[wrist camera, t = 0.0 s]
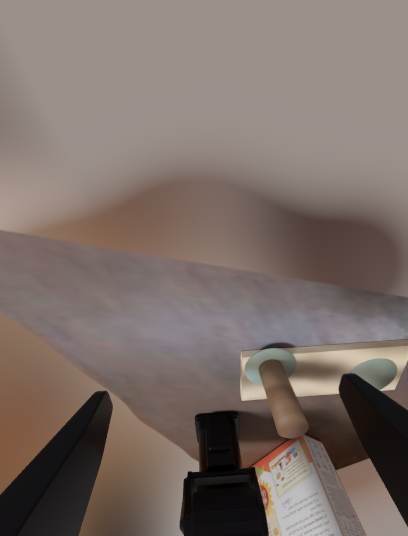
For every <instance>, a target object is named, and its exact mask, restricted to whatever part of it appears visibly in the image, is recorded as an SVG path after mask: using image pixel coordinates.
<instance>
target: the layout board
mask: <svg viewBox="0 0 408 536" xmlns="http://www.w3.org/2000/svg"><path fill="white" fill-rule="evenodd" d="M407 361H408V340H407V339H406V340H392V341H378V342H364V343H350V344H336V345H322V346H308V347H294V348H268V349H264V350H252V351H241V384H240V394H241V400H242V401H244V400H258V399H267V400H268V403H269V406H270V409H271V412H272V416H273V419H274V422H275V425H276V429H277V432H278V434H279V435H280V436H281V437H284V438H296V437H299V436H302V435H303V434H305V433H306V432H307V431H308V429H309V424H308V422H307V420H306V418H305V415H304V413H303V411H302V409H301V406H300V404H299V402H298V399H297V397H299V396H313V395H327V394H339V390H338V388H339V384H340V381H341V377H342V375H343V374H346V373H354V374H357V375H358V376H360V377H361V378H362V379H364V380H365V381H367V382H368V383H370V384H371V385H372V386H374V387H375V388H377V389H378V390H380V391H382V390H395V387H396V385H397V383H398V381H399V378H400V376H401V374H402V372H403V370H404V367H405V365H406V363H407Z"/></svg>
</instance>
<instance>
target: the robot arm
mask: <svg viewBox="0 0 408 536" xmlns="http://www.w3.org/2000/svg"><path fill="white" fill-rule="evenodd" d="M338 390H339V394H340V397H341V399H342V401H343V403H344V406H345V408H346V410H347V412H348V415H349V417H350V419H351V421H352V424H353V426H354V428H355V430H356V432H357V435H358V437H359V439H360V441H361V443H362V445H363V446H364V448H365V450H366V452H367V454H368V456H369V457H370V459H371V461H372V463H373V465H374V467H375V468H376V470H377V472H378V474H379V476H380V477H381V479H382V481H383V483H384V484H385V487H386V488H387V490H388V492H389V494H390V496H391V497H392V499H393V501H394V503H395V504H396V506H397V508H398V510H399V512H400V514H401V516H402V517H403V519H404V521H405V523H406V524H407V526H408V410H407V409H405V408H404V407H402V406H401V405H399V404H398V403H397V402H395V401H394V400H392V399H391V398H390V397H388V396H387V395H385V394H384V393H382V392H381V391H380V390H378V389H377V388H375V387H374V386H372V385H371V384H370V383H368V382H367V381H365V380H364V379H362V378H361V377H360V376H358V375H357V374H354V373H346V374H343V375H342V377H341V381H340V384H339V388H338ZM112 406H113V405H112V402H111V399H110V396H109V394H108V392H107V391H98V392H95V393H94V394H93V395H92V396H91V397H90V398H89V399H88V400H87V401H86V402H85V404H84V405H83V406H82V407H81V408H80V409H79V410H78V411H77V412H76V413H75V414H74V416H73V417H72V418H71V419H70V420H69V421H68V422H67V423H66V424H65V425H64V426H63V427H62V428H61V430H60V431H59V432H58V433H57V434H56V435H55V436H54V437H53V438H52V439H51V440H50V442H49V443H48V444H47V445H46V446H45V447H44V448H43V449H42V450H41V451H40V452H39V453H38V455H37V456H36V457H35V458H34V459H33V460H32V461H31V462H30V463H29V464H28V465H27V466H26V467H25V469H24V470H23V471H22V472H21V473H20V474H19V475H18V476H17V477H16V478H15V479H14V480H13V481H12V483H11V484H10V485H9V486H8V487H7V488H6V489H5V490H4V491H3V493H1V494H0V536H78V535H79V532H80V529H81V525H82V522H83V519H84V516H85V513H86V509H87V506H88V503H89V500H90V496H91V493H92V490H93V487H94V483H95V480H96V477H97V474H98V470H99V467H100V464H101V460H102V456H103V452H104V447H105V443H106V438H107V433H108V429H109V424H110V419H111V414H112V409H113V407H112ZM195 425H196V433H197V441H198V443H199V472H188V476H187V478H185V479H184V488H183V501H182V509H181V517H180V530H181V531H182V533H183V534H184V536H269V531H268V524H267V518H266V512H265V507H264V503H263V499H262V495H261V491H260V487H259V483H258V479H257V475H256V470H255V467H250V468H244V469H243V467H242V461H241V455H240V448H239V442H238V440H239V414H238V413H237V412H234V413H220V414H207V415H197V416H195Z"/></svg>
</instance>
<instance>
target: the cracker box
mask: <svg viewBox="0 0 408 536" xmlns="http://www.w3.org/2000/svg"><path fill="white" fill-rule="evenodd" d="M251 467H255V470H256V475H257V479H258V483H259V487H260V491H261V495H262V499H263V503H264V507H265V512H266V518H267V524H268V531H269V536H366V534H365V531H364V529H363V527H362V525H361V523H360V521H359V519H358V517H357V515H356V513H355V510H354V508H353V507H352V504H351V502H350V500H349V498H348V496H347V494H346V492H345V489H344V488H343V485H342V483H341V481H340V479H339V477H338V475H337V472H336V470H335V468H334V466H333V464H332V462H331V460H330V458H329V456H328V454H327V452H326V449H325V447H324V445H323V443H322V442H321V441H319V440H316V439H314V438H312V437H310V436H307V435H305V434H303V435H302V436H299V437H296V438H291V439H289V440H288V441H286V442H285V443H283V444H282V445H281V446H279V447H278V448H277V449H275V450H274V451H272V452H271V453H270V454H268V455H267V456H265V457H264V458H263V459H261V460H260V461H258V462H257V463H256V464H254V465H253V466H251Z"/></svg>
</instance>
